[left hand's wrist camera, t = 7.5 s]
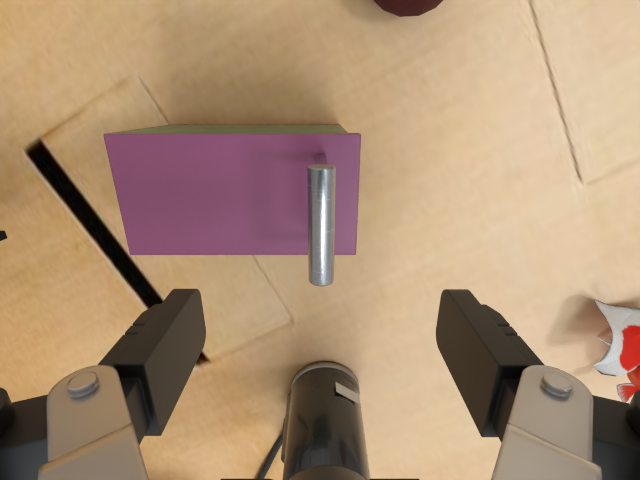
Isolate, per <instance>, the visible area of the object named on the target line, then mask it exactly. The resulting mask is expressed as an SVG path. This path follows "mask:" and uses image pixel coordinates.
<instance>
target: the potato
mask: <svg viewBox="0 0 640 480" xmlns="http://www.w3.org/2000/svg"><path fill="white" fill-rule="evenodd" d="M374 1H375V2H376V3H377V4H378V5H379V6H380V7H381V8H382V9H383V10H385V11H387V12H390V13H392V14H395V15H397V16H400V17H401V16H419V15H421V14H423V13H425V12H428V11H430V10H432V9H434V8H436V7H437V6H438V5H439V4H440V3H441V2H442V1H443V0H374Z"/></svg>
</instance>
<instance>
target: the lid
mask: <svg viewBox="0 0 640 480" xmlns="http://www.w3.org/2000/svg"><path fill="white" fill-rule="evenodd" d="M104 139H105V144H106V148H107V153H108V157H109V162H110V166H111V171H112V175H113V180H114V184H115V189H116V193H117V198H118V202H119V207H120V211H121V215H122V220H123V224H124V229H125V233H126V238H127V242H128V247H129V251H130V255H308V256H309V281H310V283H311V284H313V285H316V286H327V285H330V284H331V283H333V281H334V255H356V239H357V216H358V192H359V169H360V145H361V134H360V133H108V134H104Z"/></svg>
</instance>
